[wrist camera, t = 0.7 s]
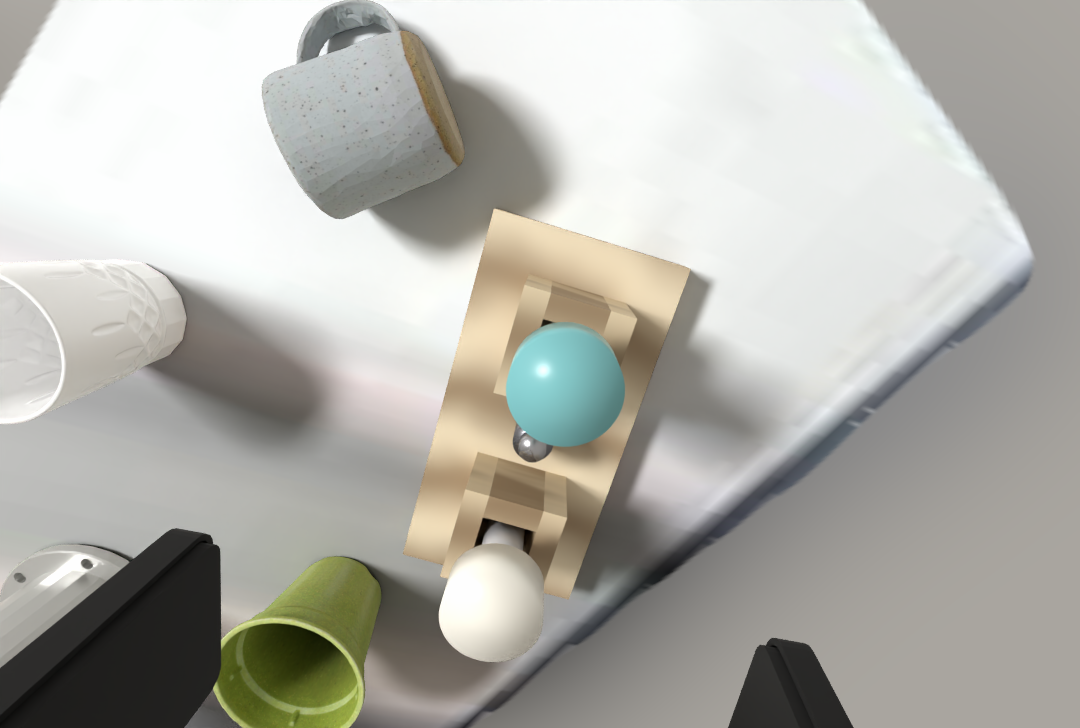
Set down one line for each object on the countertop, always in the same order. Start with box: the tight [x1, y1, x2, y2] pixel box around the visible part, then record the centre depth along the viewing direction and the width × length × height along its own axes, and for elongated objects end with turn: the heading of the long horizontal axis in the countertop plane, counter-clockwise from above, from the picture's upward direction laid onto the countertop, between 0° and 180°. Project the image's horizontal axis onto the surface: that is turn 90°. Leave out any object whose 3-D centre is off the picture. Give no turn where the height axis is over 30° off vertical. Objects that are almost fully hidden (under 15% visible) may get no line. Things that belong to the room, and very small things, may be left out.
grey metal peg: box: [513, 422, 553, 463], centre depth 33 cm, size 2×2×4 cm
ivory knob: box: [439, 519, 544, 662], centre depth 30 cm, size 5×5×8 cm
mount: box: [403, 209, 691, 599], centre depth 34 cm, size 24×12×7 cm, turn 163°
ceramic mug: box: [262, 0, 465, 219], centre depth 29 cm, size 11×8×8 cm
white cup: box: [0, 259, 187, 424], centre depth 31 cm, size 8×8×10 cm
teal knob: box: [506, 322, 625, 447], centre depth 27 cm, size 5×5×8 cm
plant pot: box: [213, 557, 381, 728], centre depth 37 cm, size 9×9×9 cm
